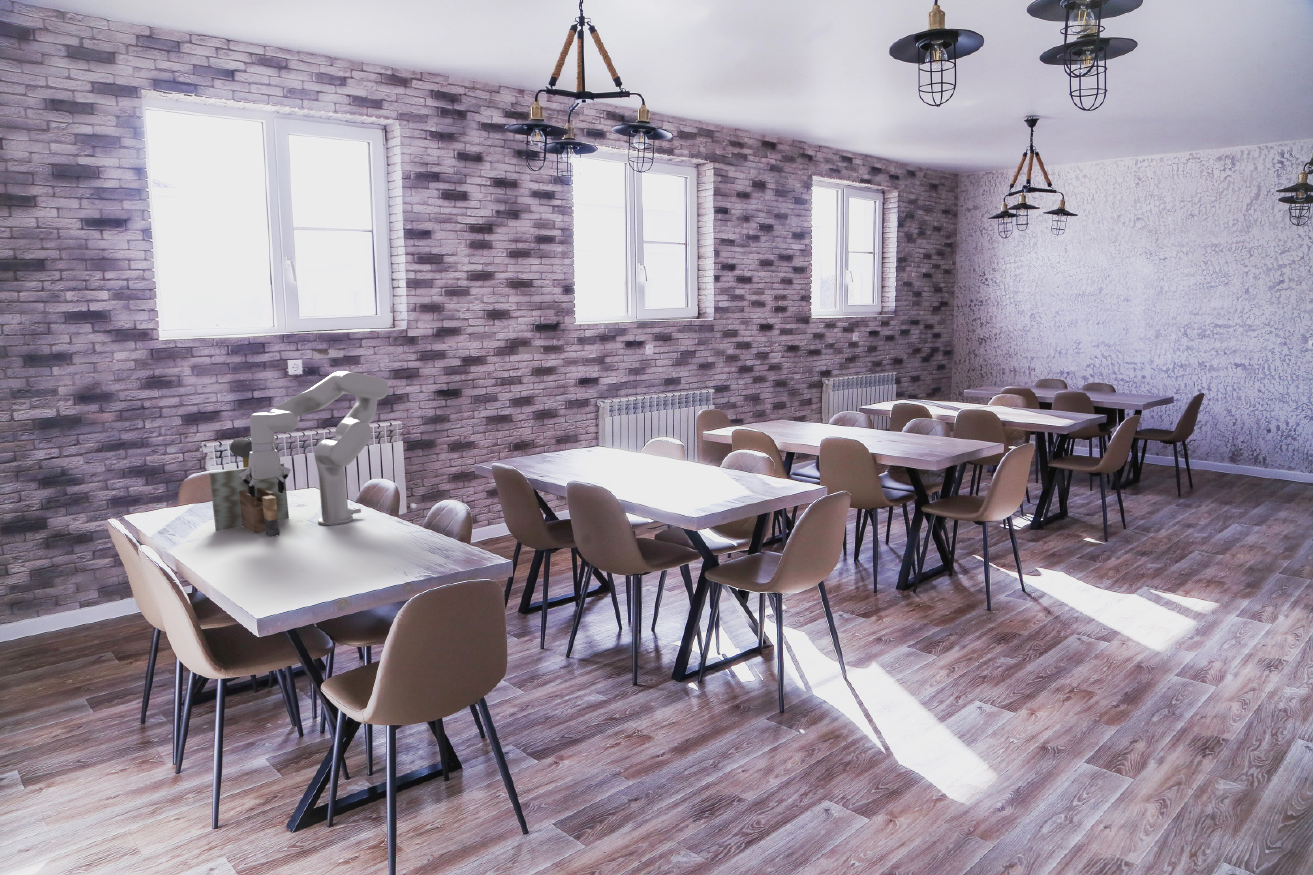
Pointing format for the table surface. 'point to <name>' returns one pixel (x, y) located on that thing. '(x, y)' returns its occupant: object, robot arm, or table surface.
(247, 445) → the rubber mallet
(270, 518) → the brown and grey block
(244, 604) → the table surface
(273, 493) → the grey patterned screen
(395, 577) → the table surface
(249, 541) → the table surface
